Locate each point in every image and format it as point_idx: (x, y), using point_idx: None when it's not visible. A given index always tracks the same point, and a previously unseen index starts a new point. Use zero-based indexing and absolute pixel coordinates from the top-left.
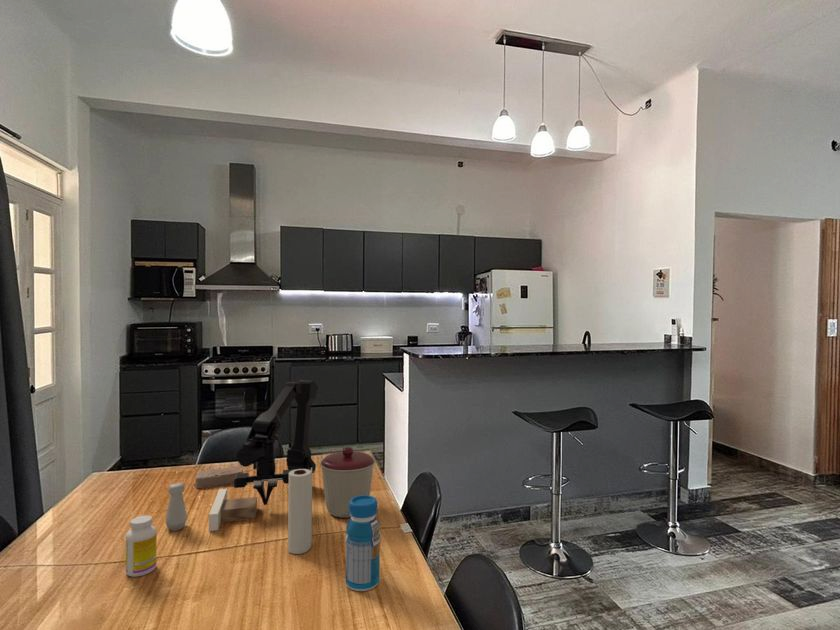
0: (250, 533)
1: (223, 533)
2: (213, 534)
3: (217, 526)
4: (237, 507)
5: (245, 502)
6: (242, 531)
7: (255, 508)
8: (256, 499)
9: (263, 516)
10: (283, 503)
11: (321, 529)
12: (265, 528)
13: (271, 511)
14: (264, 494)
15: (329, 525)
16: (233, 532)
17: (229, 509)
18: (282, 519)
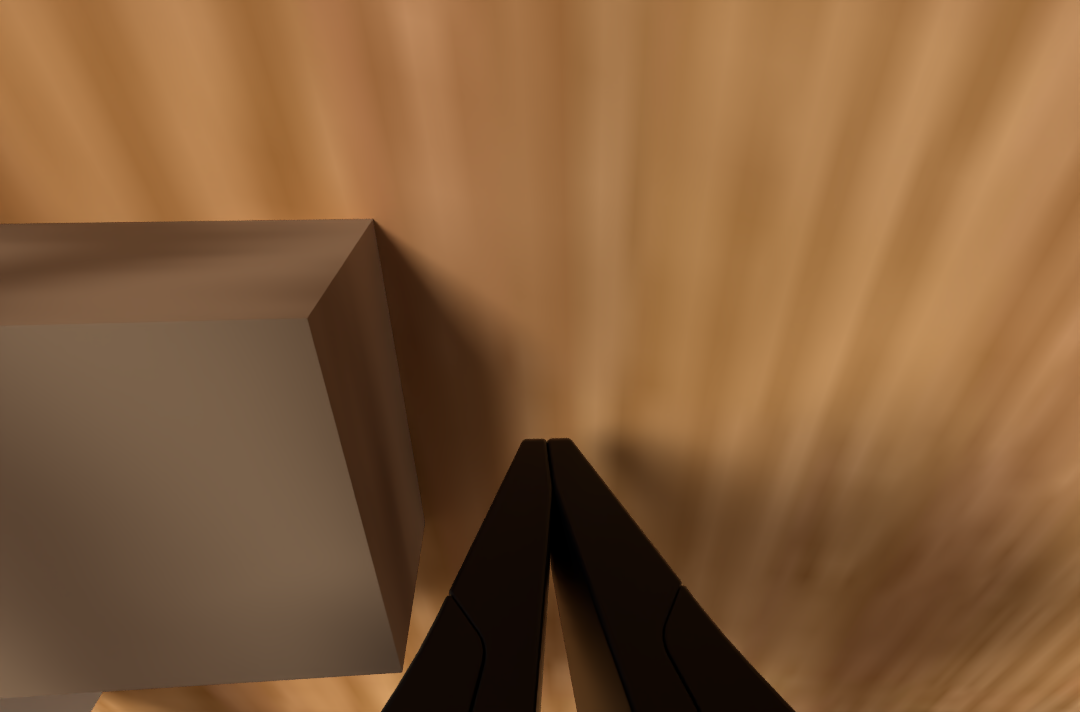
0: None
1: (207, 695)
2: (122, 700)
3: (89, 709)
4: (105, 666)
5: (145, 543)
6: (366, 686)
7: (400, 566)
8: (340, 450)
9: None
10: (867, 110)
11: (946, 702)
12: (555, 668)
13: (621, 388)
14: (539, 705)
15: (1029, 673)
16: (292, 691)
17: (5, 694)
18: (719, 571)
